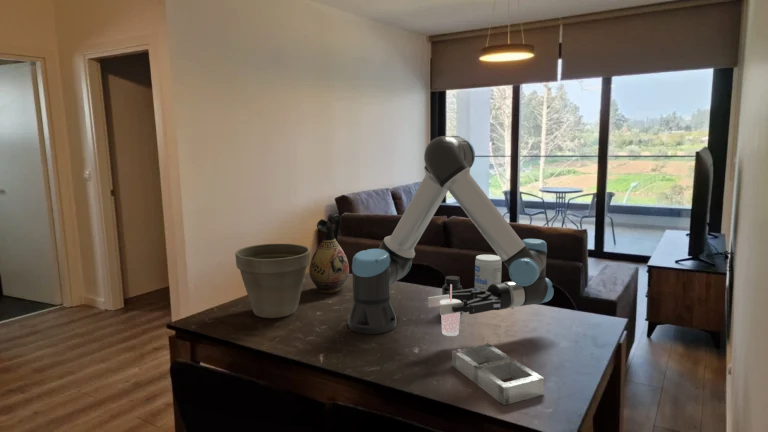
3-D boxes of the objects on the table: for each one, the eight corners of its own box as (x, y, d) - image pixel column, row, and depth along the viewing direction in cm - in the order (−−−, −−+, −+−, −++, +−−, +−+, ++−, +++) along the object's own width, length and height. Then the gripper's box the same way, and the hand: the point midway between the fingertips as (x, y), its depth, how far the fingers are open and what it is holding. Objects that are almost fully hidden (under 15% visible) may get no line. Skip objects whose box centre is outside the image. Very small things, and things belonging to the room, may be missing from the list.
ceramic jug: (333, 298, 189) (330, 218, 185) (302, 292, 198) (298, 215, 193) (359, 286, 203) (357, 212, 199) (329, 281, 212) (327, 210, 207)
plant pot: (327, 309, 177) (325, 248, 174) (269, 330, 158) (266, 262, 155) (281, 296, 193) (279, 240, 190) (224, 313, 174) (220, 251, 171)
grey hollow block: (452, 365, 131) (452, 350, 130) (488, 357, 135) (488, 343, 135) (503, 405, 111) (503, 387, 110) (543, 394, 115) (544, 378, 115)
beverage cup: (439, 328, 145) (439, 281, 143) (460, 329, 145) (461, 281, 143) (439, 336, 139) (440, 287, 137) (461, 337, 139) (462, 288, 137)
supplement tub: (469, 296, 188) (470, 257, 186) (482, 290, 195) (482, 253, 193) (493, 301, 182) (493, 261, 180) (505, 295, 189) (506, 256, 187)
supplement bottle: (465, 314, 169) (465, 279, 167) (446, 316, 167) (446, 281, 166) (458, 308, 176) (458, 274, 174) (439, 309, 174) (439, 275, 172)
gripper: (525, 318, 140) (452, 331, 131) (485, 298, 157) (418, 308, 148) (526, 292, 138) (452, 303, 130) (486, 275, 156) (418, 283, 147)
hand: (434, 305), depth 139 cm, fingers closed on beverage cup, 6 cm apart
